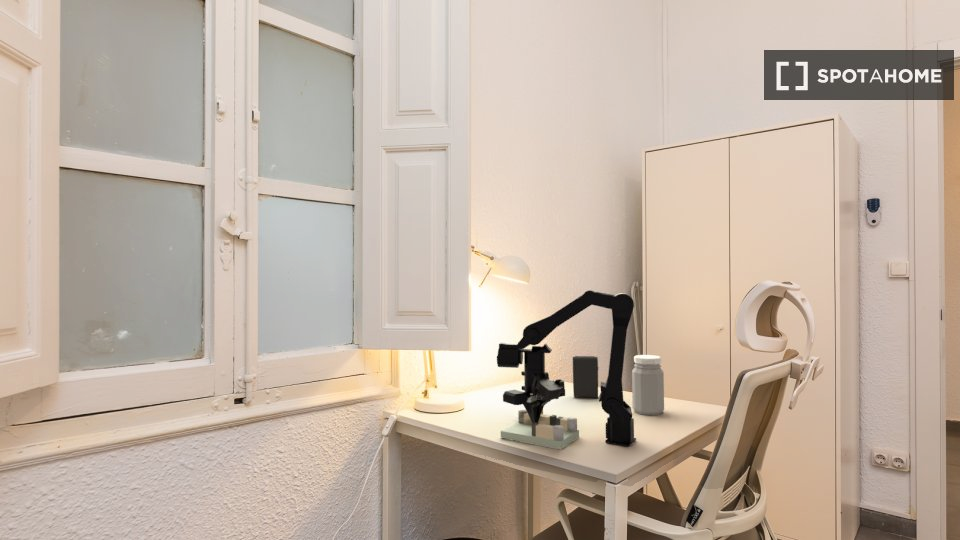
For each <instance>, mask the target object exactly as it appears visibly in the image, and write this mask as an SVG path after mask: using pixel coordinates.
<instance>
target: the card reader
mask: <svg viewBox="0 0 960 540" xmlns="http://www.w3.org/2000/svg"><path fill="white" fill-rule="evenodd" d="M572 387H573V389H572V390H573V398H576V399H597V398H598V399H599V357H598V356H595V355H575V356H572Z"/></svg>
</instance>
